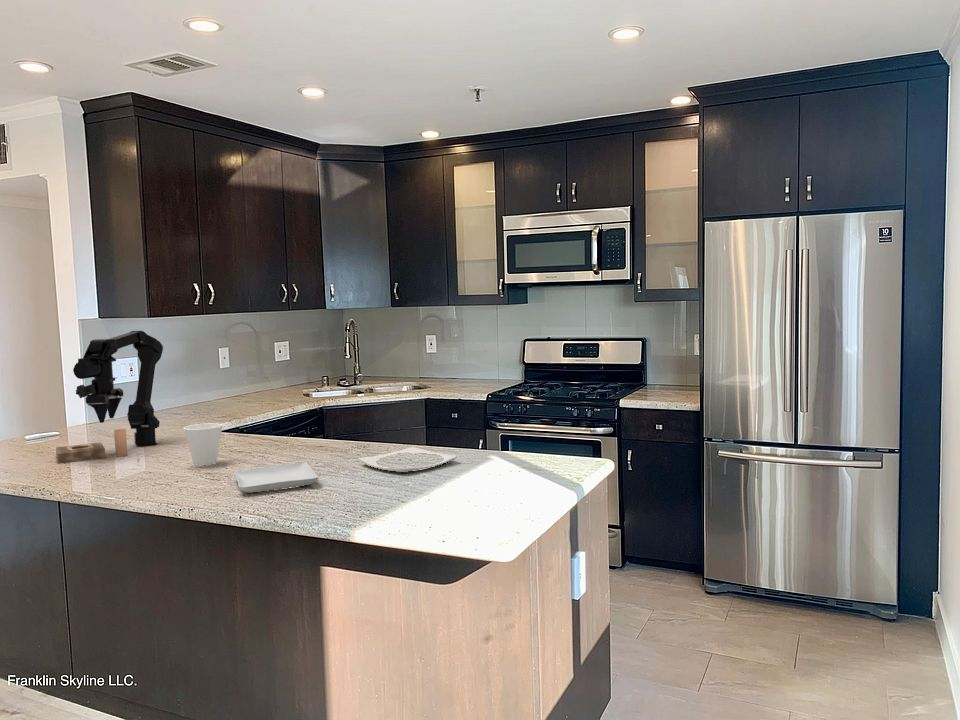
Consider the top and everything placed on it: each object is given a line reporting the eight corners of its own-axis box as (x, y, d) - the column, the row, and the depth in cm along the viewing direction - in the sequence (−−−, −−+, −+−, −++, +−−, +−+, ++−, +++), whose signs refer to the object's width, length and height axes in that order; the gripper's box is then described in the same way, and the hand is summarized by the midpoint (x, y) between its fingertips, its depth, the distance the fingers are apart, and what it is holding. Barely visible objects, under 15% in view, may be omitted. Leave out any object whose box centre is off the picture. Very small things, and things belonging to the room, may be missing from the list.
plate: (413, 453, 240) (413, 445, 239) (463, 464, 222) (463, 455, 222) (352, 466, 223) (352, 458, 222) (401, 479, 205) (401, 470, 205)
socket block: (101, 451, 256) (101, 441, 255) (105, 457, 244) (104, 447, 244) (56, 456, 248) (55, 446, 248) (58, 463, 236) (57, 453, 236)
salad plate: (240, 498, 188) (239, 486, 188) (233, 481, 208) (232, 469, 207) (320, 488, 197) (319, 476, 196) (306, 472, 216) (306, 461, 216)
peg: (126, 454, 249) (125, 428, 248) (128, 455, 246) (126, 430, 245) (115, 455, 247) (113, 430, 246) (116, 457, 244) (114, 431, 243)
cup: (232, 460, 234) (230, 423, 233) (207, 469, 222) (205, 430, 221) (203, 459, 237) (200, 422, 236) (177, 467, 226) (174, 428, 225)
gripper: (89, 374, 253) (92, 417, 254) (67, 379, 235) (70, 426, 236) (122, 372, 255) (125, 415, 256) (103, 378, 236) (106, 424, 238)
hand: (106, 420), depth 246 cm, fingers open, 9 cm apart
